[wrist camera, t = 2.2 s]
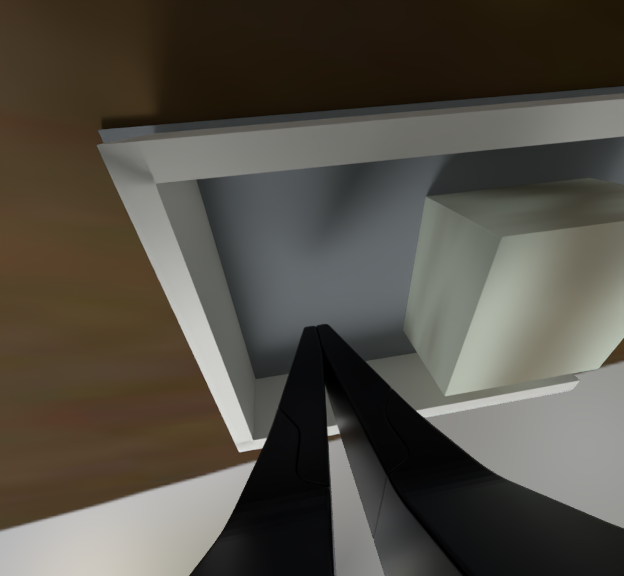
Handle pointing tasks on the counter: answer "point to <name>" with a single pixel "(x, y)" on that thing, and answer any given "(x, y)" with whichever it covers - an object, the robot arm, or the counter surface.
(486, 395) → the cubby
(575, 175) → the mat
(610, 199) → the sage block
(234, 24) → the counter surface
